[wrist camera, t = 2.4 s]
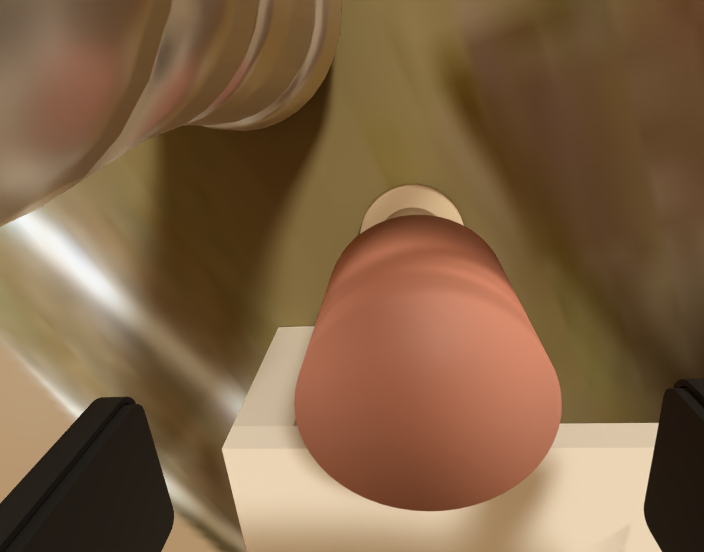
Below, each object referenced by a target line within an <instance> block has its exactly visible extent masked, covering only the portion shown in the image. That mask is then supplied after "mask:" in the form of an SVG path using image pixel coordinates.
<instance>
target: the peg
mask: <svg viewBox="0 0 704 552" xmlns="http://www.w3.org/2000/svg"><path fill="white" fill-rule="evenodd" d="M294 407H295V417H296V421H297V426H298V430H299V432H300V435H301V437H302V439H303V442H304V444H305V445H306V447H307V449H308V451H309V452H310V454H311V455H312V457H313V458H314V459H315V461H316V462H317V463H318V464H319V466H320V467H321V468H322V469H323V470H324V471H325V472H326V473H327V474H328V475H329V476H331V477H332V478H333V479H334V480H336V481H337V482H338V483H339V484H341V485H342V486H344V487H345V488H347V489H349V490H350V491H352V492H354V493H356V494H358V495H360V496H362V497H364V498H366V499H368V500H371V501H374V502H377V503H379V504H382V505H386V506H390V507H394V508H399V509H405V510H412V511H447V510H454V509H461V508H465V507H469V506H473V505H477V504H480V503H482V502H485V501H488V500H491V499H493V498H495V497H497V496H499V495H501V494H503V493H505V492H507V491H508V490H510V489H512V488H513V487H515V486H516V485H518V484H519V483H520V482H522V481H523V480H524V479H525V478H527V477H528V476H529V475H530V474H531V473H532V472H533V471H534V470H535V469H536V468H537V467H538V466H539V464H540V463H541V462H542V460H543V459H544V458H545V456H546V455H547V453H548V452H549V450H550V448H551V446H552V444H553V442H554V440H555V437H556V435H557V432H558V429H559V425H560V419H561V414H562V397H561V391H560V384H559V381H558V378H557V375H556V372H555V369H554V367H553V366H552V364H551V362H550V360H549V358H548V356H547V354H546V352H545V350H544V348H543V346H542V344H541V342H540V340H539V338H538V336H537V334H536V332H535V330H534V329H533V327H532V325H531V323H530V321H529V319H528V317H527V315H526V313H525V311H524V309H523V307H522V305H521V303H520V301H519V299H518V297H517V295H516V294H515V292H514V290H513V288H512V286H511V284H510V282H509V280H508V278H507V276H506V274H505V272H504V270H503V268H502V266H501V264H500V262H499V261H498V259H497V257H496V255H495V254H494V252H493V251H492V249H491V248H490V247H489V245H488V244H487V243H486V242H485V241H484V240H483V239H482V238H481V237H479V236H478V235H477V234H476V233H474V232H473V231H472V230H470V229H468V228H467V227H465V226H464V225H463V222H462V219H461V217H460V214H459V212H458V210H457V208H456V207H455V205H454V204H453V202H452V201H451V200H450V199H449V198H448V197H447V196H446V195H444V194H443V193H442V192H440V191H438V190H437V189H434V188H432V187H429V186H426V185H420V184H406V185H400V186H396V187H394V188H391V189H389V190H387V191H386V192H384V193H382V194H381V195H380V196H378V197H377V198H376V199H375V200H374V201H373V203H372V204H371V205H370V206H369V208H368V210H367V212H366V214H365V216H364V219H363V222H362V226H361V231H360V235H358V236H357V237H356V238H355V239H354V240H353V241H352V242H351V243H350V244H349V245H348V246H347V247H346V249H345V250H344V251H343V252H342V254H341V256H340V257H339V259H338V261H337V262H336V265H335V267H334V270H333V272H332V275H331V278H330V281H329V284H328V287H327V290H326V293H325V296H324V299H323V302H322V305H321V308H320V312H319V315H318V318H317V321H316V324H315V327H314V330H313V333H312V336H311V339H310V342H309V345H308V348H307V351H306V354H305V357H304V360H303V363H302V366H301V369H300V372H299V375H298V379H297V383H296V388H295V398H294Z"/></svg>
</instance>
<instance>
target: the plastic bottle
mask: <svg viewBox="0 0 704 552" xmlns="http://www.w3.org/2000/svg"><path fill="white" fill-rule="evenodd" d="M341 12H342V5H341V0H0V227H1V226H3V225H5V224H7V223H9V222H11V221H13V220H15V219H17V218H19V217H21V216H23V215H26V214H28V213H30V212H32V211H34V210H36V209H38V208H41V207H43V206H44V205H45V204H47V203H48V202H50V201H51V200H52V199H54V198H55V197H57V196H58V195H60V194H62V193H63V192H65V191H66V190H68V189H69V188H71V187H73V186H74V185H76V184H77V183H79V182H80V181H82V180H84V179H85V178H87V177H88V176H90V175H91V174H93V173H95V172H96V171H98V170H99V169H101V168H102V167H104V166H106V165H107V164H109V163H110V162H112V161H113V160H115V159H117V158H118V157H120V156H121V155H123V154H124V153H126V152H128V151H129V150H131V149H132V148H134V147H135V146H137V145H139V144H140V143H142V142H143V141H145V140H146V139H149V138H152V137H154V136H157V135H160V134H162V133H165V132H167V131H170V130H173V129H175V128H178V127H180V126H192V125H200V126H204V127H207V128H211V129H222V130H236V131H249V130H256V129H263V128H266V127H268V126H271V125H274V124H276V123H279V122H282V121H283V120H285V119H286V118H288V117H289V116H291V115H292V114H294V113H296V112H297V111H298V110H299V109H300V108H302V107H303V106H304V105H305V104H306V103H307V102H308V101H309V100H310V99H311V98H312V97H313V95H314V94H315V92H316V91H317V90H318V88H319V87H320V85H321V84H322V82H323V81H324V79H325V78H326V75H327V73H328V71H329V68H330V66H331V64H332V61H333V59H334V57H335V53H336V49H337V44H338V40H339V36H340V28H341Z"/></svg>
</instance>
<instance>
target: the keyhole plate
mask: <svg viewBox="0 0 704 552" xmlns="http://www.w3.org/2000/svg"><path fill="white" fill-rule="evenodd" d="M314 327H315V326H304V327H278V330H277V332H276V334H275V336H274V338H273V340H272V342H271V345H270V347H269V349H268V351H267V353H266V355H265V357H264V360H263V362H262V364H261V366H260V368H259V370H258V372H257V375H256V377H255V379H254V381H253V383H252V385H251V387H250V390H249V392H248V394H247V396H246V398H245V400H244V402H243V405H242V407H241V409H240V411H239V413H238V415H237V417H236V420H235V422H234V424H233V426H232V428H231V430H230V432H229V435H228V437H227V439H226V441H225V443H224V445H223V447H222V452H223V456H224V460H225V464H226V468H227V472H228V476H229V481H230V485H231V489H232V493H233V497H234V501H235V505H236V510H237V514H238V518H239V522H240V526H241V530H242V534H243V539H244V543H245V547H246V551H247V552H662V551H661V549H660V548H659V546H658V544H657V542H656V541H655V539H654V537H653V536H652V534H651V532H650V530H649V528H648V526H647V524H646V521H645V516H644V501H645V496H646V490H647V485H648V479H649V474H650V468H651V463H652V457H653V452H654V446H655V441H656V436H657V430H658V425H659V423H587V424H560V425H559V429H558V432H557V435H556V437H555V440H554V442H553V444H552V446H551V448H550V450H549V452H548V453H547V455H546V456H545V458H544V459H543V460H542V462H541V463H540V464H539V466H538V467H537V468H536V469H535V470H534V471H533V472H532V473H531V474H530V475H529V476H528V477H527V478H525V479H524V480H523V481H522V482H520V483H519V484H518V485H516V486H515V487H513V488H512V489H510V490H508V491H507V492H505V493H503V494H501V495H499V496H497V497H495V498H493V499H491V500H488V501H485V502H482V503H480V504H477V505H473V506H469V507H465V508H461V509H454V510H447V511H412V510H405V509H399V508H394V507H390V506H386V505H382V504H379V503H377V502H374V501H371V500H368V499H366V498H364V497H362V496H360V495H358V494H356V493H354V492H352V491H350V490H349V489H347V488H345V487H344V486H342V485H341V484H339V483H338V482H337V481H336V480H334V479H333V478H332V477H331V476H329V475H328V474H327V473H326V472H325V471H324V470H323V469H322V468H321V467H320V466H319V464H318V463H317V462H316V461H315V459H314V458H313V457H312V455H311V454H310V452H309V451H308V449H307V447H306V445H305V444H304V442H303V439H302V437H301V435H300V432H299V430H298V426H297V421H296V417H295V407H294V398H295V388H296V383H297V379H298V375H299V372H300V369H301V366H302V363H303V360H304V357H305V354H306V351H307V348H308V345H309V342H310V339H311V336H312V333H313V330H314Z"/></svg>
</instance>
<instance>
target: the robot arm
mask: <svg viewBox="0 0 704 552" xmlns="http://www.w3.org/2000/svg"><path fill="white" fill-rule="evenodd" d="M644 516H645V521H646V524H647V526H648V528H649V530H650V532H651V534H652V536H653V537H654V539H655V541H656V542H657V544H658V546H659V548H660V549H661V551H662V552H704V379H681V380H679V381H677V382H676V383H675V385H674V388H670V389H667V390H666V392H665V394H664V397H663V403H662V408H661V414H660V419H659V425H658V430H657V436H656V441H655V446H654V452H653V457H652V463H651V468H650V474H649V479H648V485H647V490H646V496H645V501H644ZM173 521H174V511H173V506H172V503H171V500H170V496H169V493H168V490H167V486H166V483H165V479H164V476H163V473H162V469H161V466H160V462H159V459H158V456H157V452H156V449H155V445H154V442H153V439H152V435H151V432H150V428H149V425H148V422H147V418H146V415H145V411H144V409H143V407H142V406H141V405H139V404H136V403H135V401H134V400H133V399H132V398H130V397H104V398H98V399H96V400H95V401H93V402H92V403H91V404H90V406H89V407H88V408H87V409H86V410H85V411H84V412H83V413H82V414H81V415H80V417H79V418H78V419H77V420H76V421H75V422H74V423H73V424H72V425H71V426H70V428H69V429H68V430H67V431H66V432H65V433H64V434H63V435H62V436H61V437H60V439H59V440H58V441H57V442H56V443H55V444H54V445H53V446H52V447H51V448H50V450H49V451H48V452H47V453H46V454H45V455H44V456H43V457H42V458H41V460H39V462H38V463H37V464H36V465H35V466H34V467H33V468H32V469H31V471H30V472H29V473H28V474H27V475H26V476H25V477H24V478H23V479H22V480H21V481H20V482H19V484H18V485H17V486H16V487H15V488H14V489H13V490H12V491H11V492H10V493H9V495H8V496H7V497H6V498H5V499H4V500H3V501H2V502H1V503H0V552H161V551H162V549H163V547H164V545H165V542H166V540H167V538H168V536H169V534H170V532H171V529H172V526H173Z"/></svg>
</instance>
